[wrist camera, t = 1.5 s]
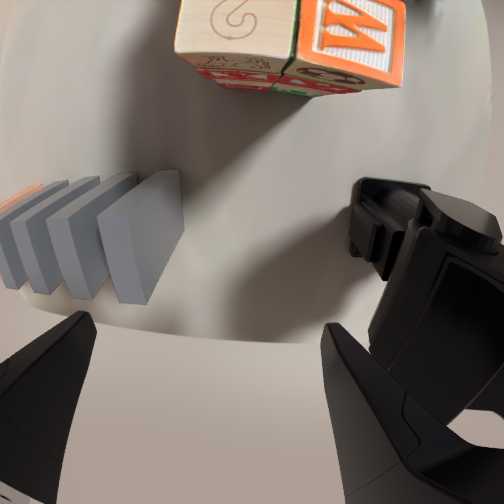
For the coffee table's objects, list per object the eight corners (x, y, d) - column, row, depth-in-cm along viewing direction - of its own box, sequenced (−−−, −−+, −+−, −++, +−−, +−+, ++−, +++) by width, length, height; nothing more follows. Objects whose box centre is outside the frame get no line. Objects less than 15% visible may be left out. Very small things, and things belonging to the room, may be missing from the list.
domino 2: (68, 179, 19) (-6, 223, 11) (78, 231, 21) (18, 290, 13) (55, 181, 19) (-17, 225, 11) (65, 231, 21) (6, 287, 13)
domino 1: (42, 184, 19) (-28, 226, 11) (52, 232, 21) (-6, 285, 13) (31, 186, 19) (-36, 227, 11) (42, 232, 21) (-16, 283, 13)
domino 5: (179, 169, 19) (127, 215, 11) (184, 230, 21) (146, 304, 13) (158, 170, 19) (96, 216, 11) (165, 230, 21) (119, 302, 13)
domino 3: (99, 175, 19) (25, 221, 11) (108, 230, 21) (50, 295, 13) (83, 177, 19) (9, 222, 11) (93, 231, 21) (34, 292, 13)
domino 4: (136, 171, 19) (67, 218, 11) (144, 230, 21) (92, 300, 13) (118, 173, 19) (45, 219, 11) (127, 230, 21) (70, 297, 13)
